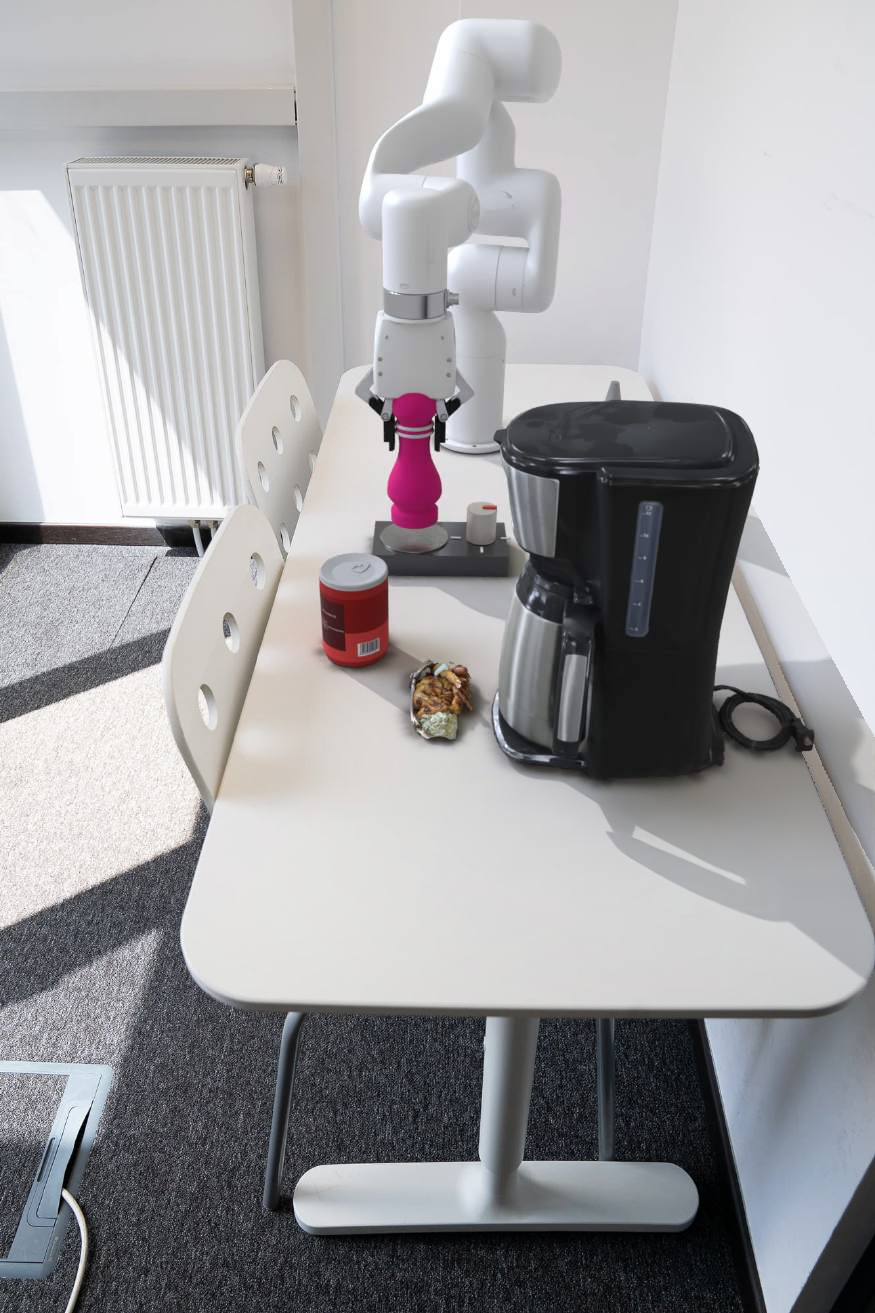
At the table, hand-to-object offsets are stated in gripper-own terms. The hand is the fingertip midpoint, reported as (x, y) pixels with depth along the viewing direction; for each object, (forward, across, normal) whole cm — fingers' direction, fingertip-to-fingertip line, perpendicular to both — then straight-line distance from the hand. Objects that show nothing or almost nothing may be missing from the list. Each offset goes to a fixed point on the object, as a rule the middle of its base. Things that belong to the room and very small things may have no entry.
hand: (414, 446), depth 131 cm
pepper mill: (+10, 0, +1) cm, 10 cm away
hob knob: (+13, -9, 0) cm, 16 cm away
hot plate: (+16, -4, 0) cm, 17 cm away
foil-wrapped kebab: (+16, -4, +34) cm, 38 cm away
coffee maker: (+16, -24, +40) cm, 49 cm away
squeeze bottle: (+16, -28, -20) cm, 38 cm away
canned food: (+16, +6, +23) cm, 29 cm away
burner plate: (+13, 0, 0) cm, 13 cm away
